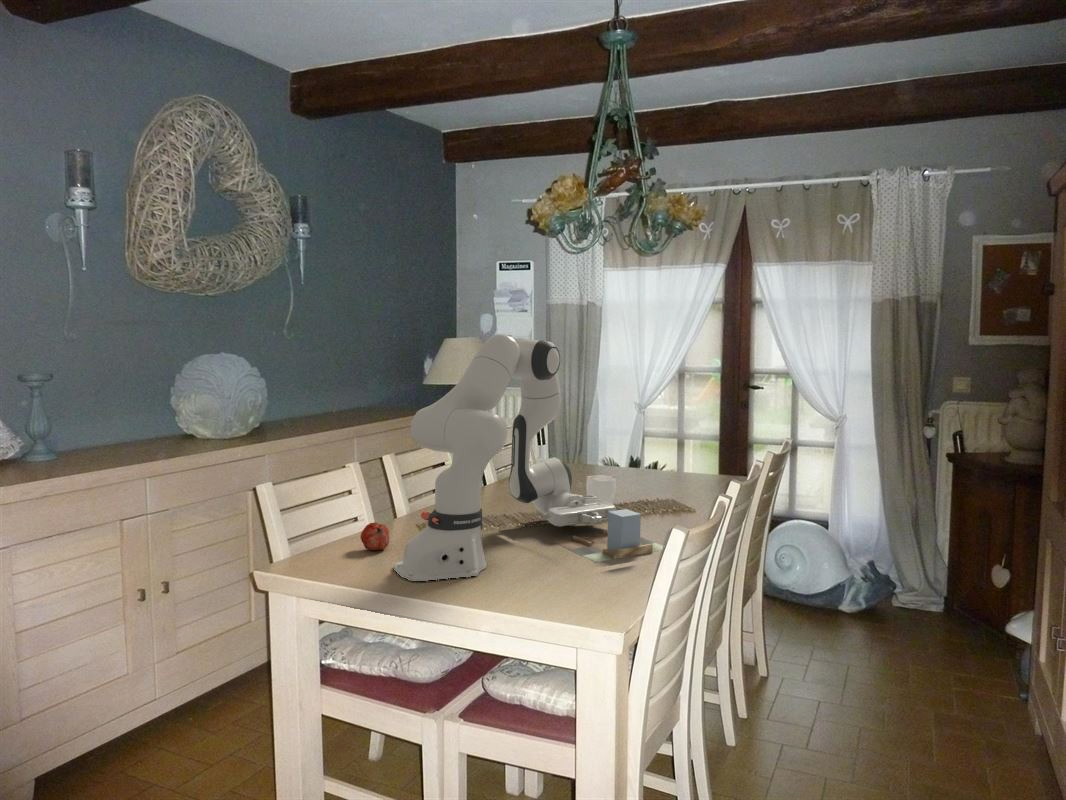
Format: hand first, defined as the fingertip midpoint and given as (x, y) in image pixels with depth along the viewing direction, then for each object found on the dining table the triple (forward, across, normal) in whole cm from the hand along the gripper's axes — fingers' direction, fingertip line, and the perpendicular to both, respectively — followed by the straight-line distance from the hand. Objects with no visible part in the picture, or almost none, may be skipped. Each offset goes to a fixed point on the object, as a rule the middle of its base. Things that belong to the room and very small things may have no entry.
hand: (597, 520), depth 214 cm
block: (+12, 0, +5) cm, 13 cm away
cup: (-24, +18, +7) cm, 30 cm away
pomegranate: (-22, -55, +6) cm, 60 cm away
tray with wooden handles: (+6, 0, +6) cm, 9 cm away
